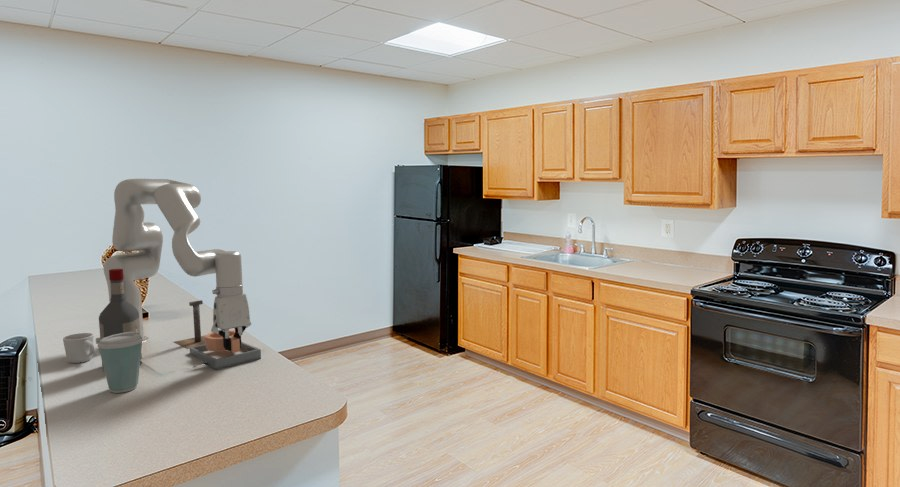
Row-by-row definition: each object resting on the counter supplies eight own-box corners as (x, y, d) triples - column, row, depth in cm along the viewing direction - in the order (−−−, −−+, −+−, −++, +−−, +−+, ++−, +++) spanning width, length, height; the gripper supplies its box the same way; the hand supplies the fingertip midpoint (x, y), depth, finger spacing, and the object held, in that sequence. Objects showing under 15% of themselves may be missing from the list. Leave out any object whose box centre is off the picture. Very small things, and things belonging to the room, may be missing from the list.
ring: (220, 355, 166) (219, 343, 165) (200, 346, 175) (200, 334, 175) (251, 348, 173) (250, 336, 172) (230, 340, 182) (230, 328, 182)
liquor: (144, 360, 172) (138, 266, 169) (132, 370, 163) (126, 271, 160) (112, 362, 171) (106, 267, 167) (99, 371, 162) (92, 272, 158)
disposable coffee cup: (98, 399, 141) (94, 343, 140) (102, 385, 151) (98, 332, 149) (145, 391, 146) (141, 337, 144) (146, 379, 156) (143, 328, 154)
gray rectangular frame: (215, 369, 163) (215, 360, 163) (190, 356, 176) (189, 347, 175) (260, 358, 174) (260, 349, 174) (233, 346, 186) (233, 338, 186)
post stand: (187, 352, 180) (185, 307, 178) (173, 345, 188) (170, 301, 186) (223, 344, 189) (221, 301, 187) (207, 338, 197) (205, 296, 195)
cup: (106, 360, 172) (104, 335, 172) (80, 367, 165) (78, 342, 164) (85, 355, 177) (83, 331, 176) (59, 362, 170) (57, 337, 169)
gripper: (209, 296, 160) (212, 357, 162) (259, 288, 172) (262, 345, 174) (198, 293, 165) (201, 352, 167) (248, 286, 177) (250, 341, 179)
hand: (232, 348), depth 171 cm, fingers closed on ring, 2 cm apart
